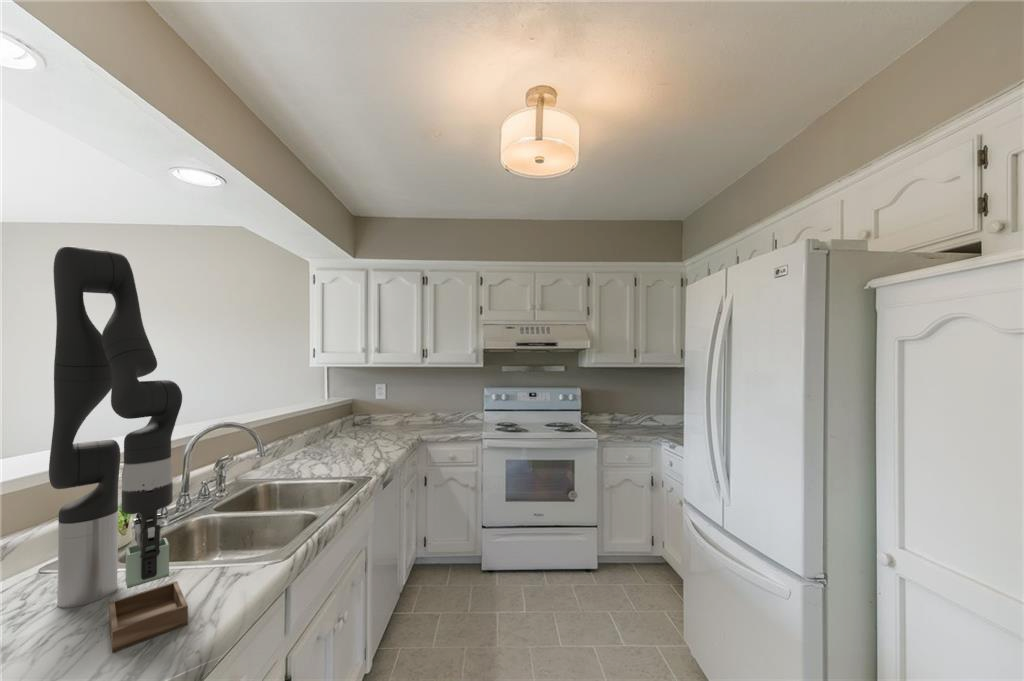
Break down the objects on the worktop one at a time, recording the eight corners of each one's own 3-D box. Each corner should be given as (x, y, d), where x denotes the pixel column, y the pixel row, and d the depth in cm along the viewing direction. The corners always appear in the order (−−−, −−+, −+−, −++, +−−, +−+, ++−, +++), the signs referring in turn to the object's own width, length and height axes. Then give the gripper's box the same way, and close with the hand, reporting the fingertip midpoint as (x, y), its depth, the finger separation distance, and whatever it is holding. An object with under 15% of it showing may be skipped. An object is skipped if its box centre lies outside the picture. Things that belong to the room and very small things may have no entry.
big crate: (109, 620, 82) (109, 602, 82) (176, 597, 90) (176, 580, 90) (112, 652, 73) (112, 632, 73) (187, 624, 80) (187, 605, 80)
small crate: (125, 579, 81) (125, 547, 81) (165, 567, 85) (165, 537, 85) (127, 588, 77) (127, 555, 78) (169, 576, 82) (169, 544, 82)
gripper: (119, 481, 84) (119, 568, 84) (123, 495, 74) (123, 594, 74) (167, 473, 90) (167, 554, 89) (177, 485, 80) (177, 577, 79)
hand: (147, 572), depth 81 cm, fingers closed on small crate, 5 cm apart
